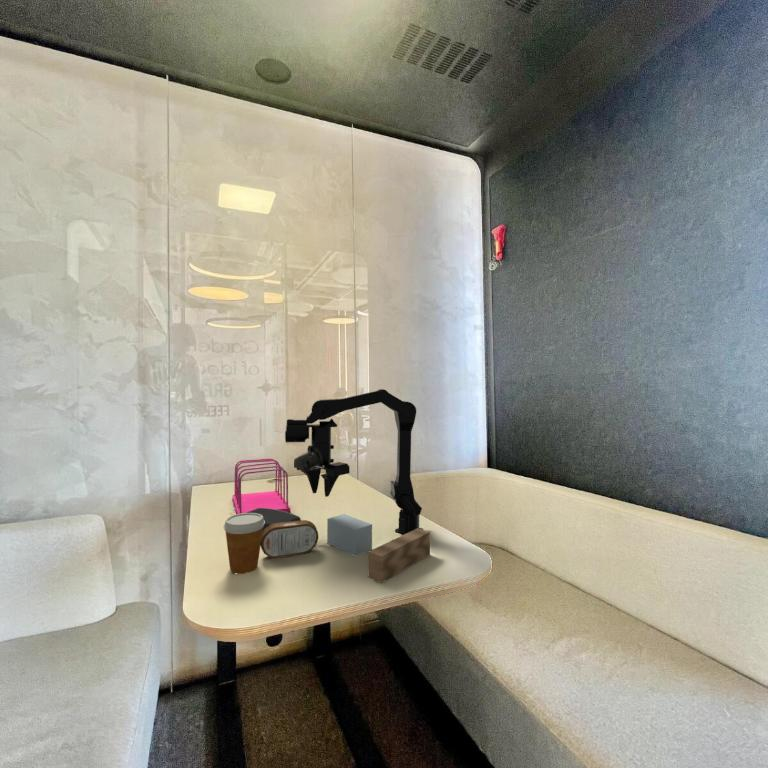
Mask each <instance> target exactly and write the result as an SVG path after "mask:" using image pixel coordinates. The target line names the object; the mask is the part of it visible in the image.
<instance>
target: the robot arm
mask: <svg viewBox="0 0 768 768" xmlns="http://www.w3.org/2000/svg"><path fill="white" fill-rule="evenodd" d="M380 403H381V404H383V405H384V406H386V407H387V408H388V409H390V410H392V411H393V413H394V415H393V416H394V421H395V424H396V428H397V448H396V449H397V450H396V451H397V453H396V476H395V480H390V488H391V489H390V492H389V493H390V496H391V497H392V499H393V501H394V503H395V504H396V506H397V507H398V508H399V509H400V510H399V512H398V527H397V528H395V529H394V532H397V533H400V534H403V535H404V534H406V533H409V532H411V531H413V530H415V529H417V528H419V529H422V530H424V528H422V527H420V515H421V513H422V510H423V508H422V506H420V504H419V503H418V501H417V500H416V499H415V494H414V493H415V492H414V487H413V484H412V479H411V469H412V467H411V464H412V463H411V462H412V461H411V460H412V456H411V454H412V431H413V428H414V425H415V422H416V416H417V408H416V406H415V405H414V403H412V402H410V401H406V400H402V399H400V398H398V397H396V396H395V395H393V394H391V393H389V392H388V391H387V390H386V389H384V388H380V389H377V390H375V391H369V392H366V393H362V394H356V395H351V396H348V397H344V398H327V399H325V398H323V399H319V400H315V402H314V403H313V404H312V405H311V413H310V414H309V415H307V416H306V419H292V418H288V419H287V420H286V426H285V432H284V438H285V439H284V440H285V443H306V440H308V439H309V440H310V439H311V440H310V441H311V442H310V443H311V444H310V445H308V447H307V451H306V452H304V453H302V454H301V455H298V456H297V457H296V458H294V459H293V468H294V469H296V470H297V471H300V472H301V473H303V474H304V475H305V476H306V477H307V480H308V482H309V485H310V488H311V491H312V494H316V493H317V491H318V488H319V484H320V477H322V479H323V484H324V487H323V489H324V490H323V491H324V496H325V497H329V496H330V495H331V492H332V491H333V487H334V486H335V484H336V482H337V480H338V478H339V476H344V475H347V474H350V465H349V464H348V463H346V462H340V461H339V462H338V461H337V462H334V458H332V457H331V456H332V451H331V450H333V449H335V445H333V444H332V428H337V427H338V424H337V423H336V422H335V421H334V419H333V418H331V417H334V416H336V415H338V414H340V413H342V412H345V411H350V410H353V409H358V408H363V407H367V406H371V405H376V404H380ZM329 418H330V420H326V419H329ZM325 420H326V421H325ZM317 421H319V423H318V424H315V423H316V422H317ZM310 428H311V436H310ZM310 437H311V438H310ZM322 470H324V471H325V473H323V474H321V472H322Z"/></svg>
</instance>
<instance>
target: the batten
mask: <svg viewBox="0 0 768 768" xmlns="http://www.w3.org/2000/svg"><path fill="white" fill-rule="evenodd" d="M419 528H420V527H419ZM419 528H417V529H415V530H413V531H411V532H409V533H406V534H403V535H401V536H398V537H396V538H394V539H392V540H389V541H388V542H385V543H383V544H381V545H380V546H379V545H378V546H377V547H375V548H372V550H370V551H367V552H368V553H367V555H368V556H367V557H368V558H367V562H368V563H367V565H368V566H367V578H368V579H371V580H373V581H375V582H378V583H379V584H383V583H384V582H386V581H387V580H389V579H391V578H392V577H395V576H396V575H398V574H399V573H401V572H403V571H405V570H406V569H408V568H409V567H412V566H413V565H414V564H416V563H418V562H420V561H421V560H423V559H425V558H427V557H428V556H430V554H431V531H428V530H425V529H423V528H422V529H423V530H422V529H419Z"/></svg>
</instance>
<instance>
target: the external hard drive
mask: <svg viewBox="0 0 768 768" xmlns="http://www.w3.org/2000/svg"><path fill="white" fill-rule="evenodd" d="M247 513H257V514H261V515H262V516H263V519H264V521H265V524H264V526H263V530H262V532H263V531H264V529H265V528H267V527H268V526H269V525H271V524H274V523H282V522H292V521H301V520H302V519H301V517H300V516H299V515H296V514H294V513H291V512H289V513H288V512H285V511H280V510H275V509H268V508H257V509H255V510H252V511H249V512H247Z"/></svg>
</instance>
